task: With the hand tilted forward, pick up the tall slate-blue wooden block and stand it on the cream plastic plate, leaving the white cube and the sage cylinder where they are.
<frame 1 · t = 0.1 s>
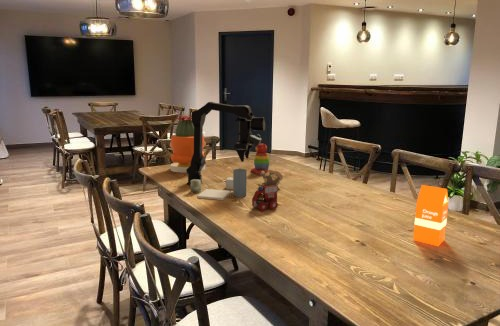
hand: (244, 160, 217), 15 cm above the table, tool pointing down, fingers open, 9 cm apart
stacking bear: (260, 172, 254), on the table
plate: (214, 195, 204), on the table
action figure: (269, 185, 224), on the table
orange juice: (428, 240, 151), on the table
tall block: (239, 195, 204), on the table
toy fire truck: (264, 208, 185), on the table
white cube: (231, 187, 218), on the table
sage cylinder: (195, 192, 210), on the table
potted cactus: (189, 170, 258), on the table
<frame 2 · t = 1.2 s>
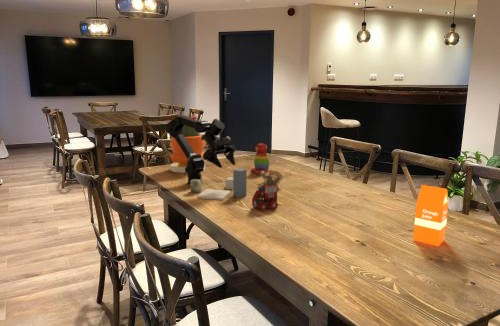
hand: (228, 166, 207), 14 cm above the table, tool tilted 45°, fingers open, 9 cm apart
nothing on the table moved.
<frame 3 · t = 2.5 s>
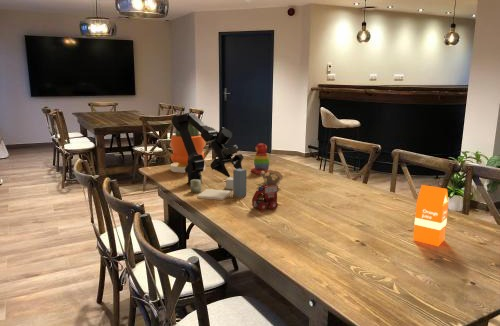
hand: (235, 175, 204), 10 cm above the table, tool tilted 45°, fingers open, 9 cm apart
nothing on the table moved.
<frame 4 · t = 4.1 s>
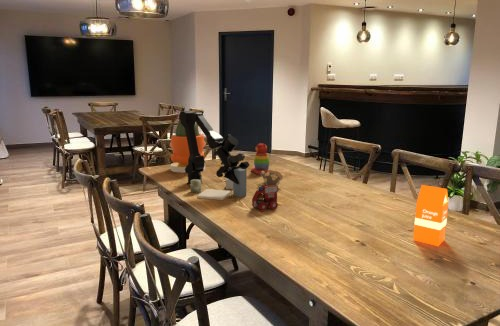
hand: (241, 183, 202), 7 cm above the table, tool tilted 45°, fingers closed on tall block, 4 cm apart
tall block: (239, 195, 204), on the table, touching gripper
everything else where it was.
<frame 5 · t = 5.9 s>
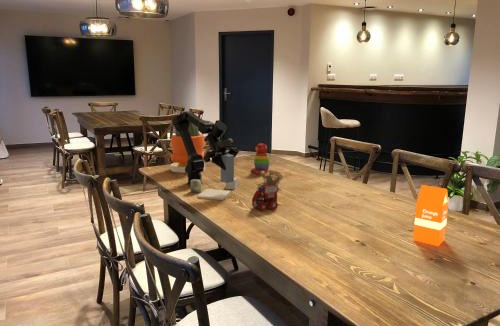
hand: (229, 168, 202), 13 cm above the table, tool tilted 45°, fingers closed on tall block, 4 cm apart
tall block: (227, 181, 204), point 7 cm above the table, touching gripper
everything else where it was.
when the fingers open (9 cm above the table, at t = 7.7 s): tall block drops 1 cm, resting on plate.
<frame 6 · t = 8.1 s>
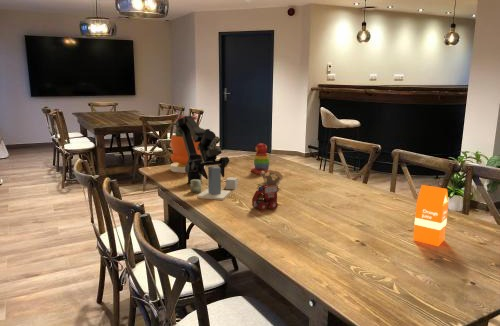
hand: (215, 178, 201), 9 cm above the table, tool tilted 45°, fingers open, 8 cm apart
tall block: (214, 193, 204), point 1 cm above the table, touching plate
everything else where it was.
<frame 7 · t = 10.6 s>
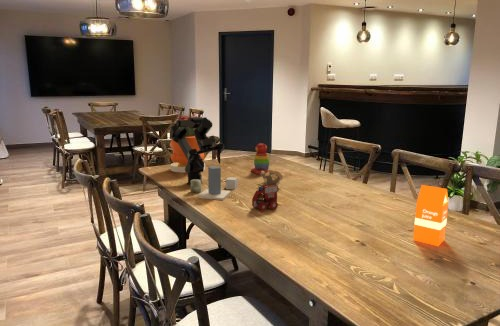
hand: (211, 165, 209), 13 cm above the table, tool tilted 35°, fingers open, 9 cm apart
nothing on the table moved.
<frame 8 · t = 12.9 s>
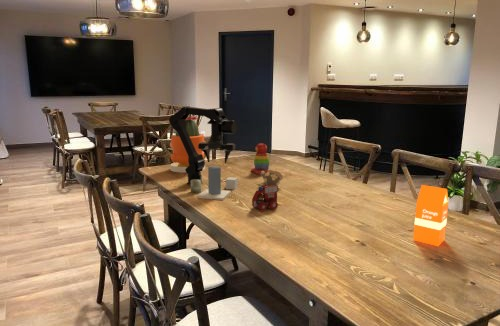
hand: (217, 162, 218), 13 cm above the table, tool pointing down, fingers open, 9 cm apart
nothing on the table moved.
at the end: tall block inside the target area on the plate (0.0 cm from its centre), point 1.0 cm above the plate's base; white cube moved 0.1 cm from its start; sage cylinder moved 0.1 cm from its start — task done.
